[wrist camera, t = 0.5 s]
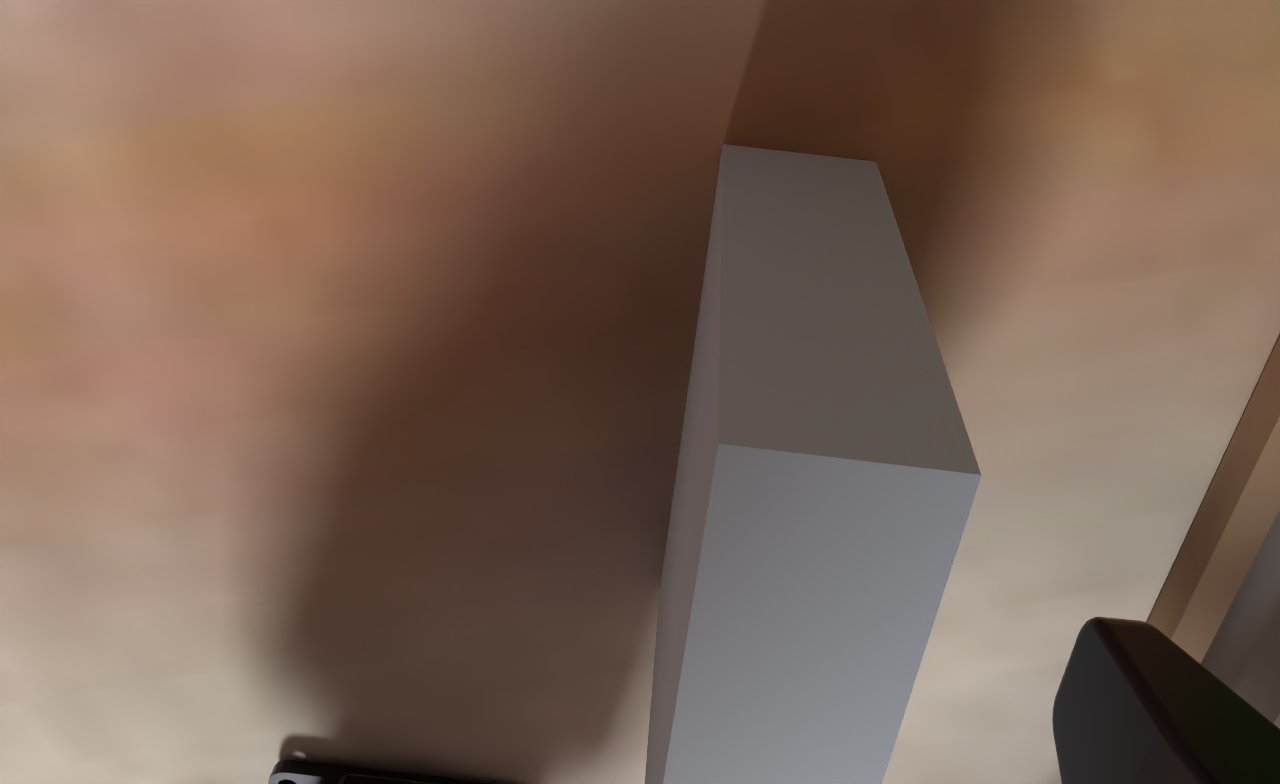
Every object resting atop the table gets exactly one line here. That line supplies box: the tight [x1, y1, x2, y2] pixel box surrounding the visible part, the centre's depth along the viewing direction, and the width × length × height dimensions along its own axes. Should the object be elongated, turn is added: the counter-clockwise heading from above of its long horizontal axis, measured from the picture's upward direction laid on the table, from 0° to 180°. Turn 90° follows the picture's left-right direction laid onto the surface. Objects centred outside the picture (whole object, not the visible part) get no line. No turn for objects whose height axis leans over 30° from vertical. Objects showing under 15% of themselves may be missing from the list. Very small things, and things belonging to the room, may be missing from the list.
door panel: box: [645, 144, 981, 784], centre depth 17 cm, size 10×3×9 cm, turn 175°
